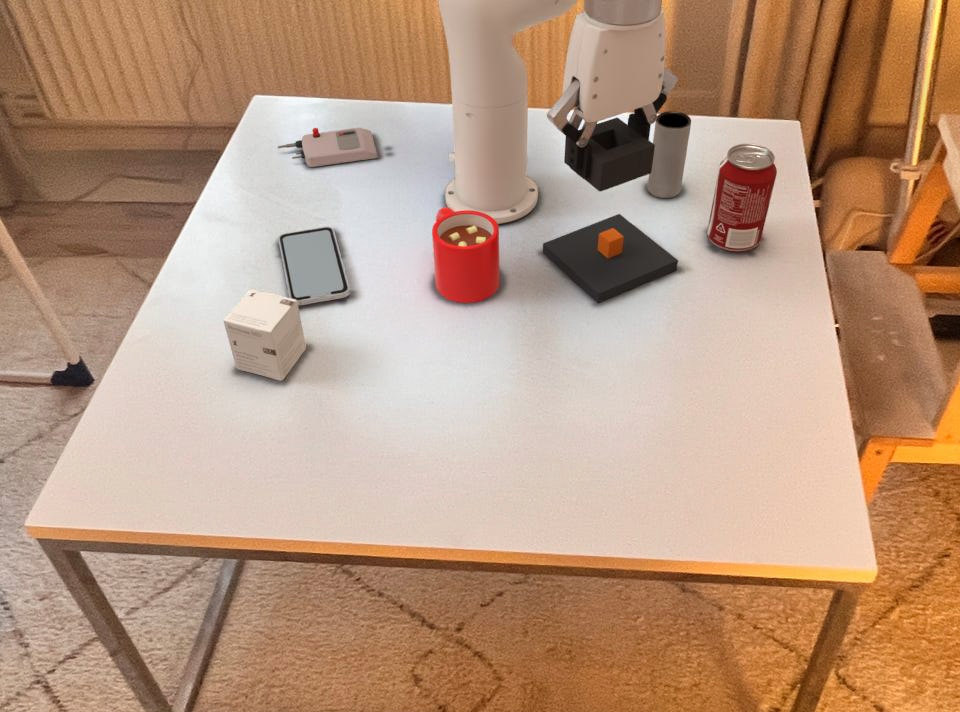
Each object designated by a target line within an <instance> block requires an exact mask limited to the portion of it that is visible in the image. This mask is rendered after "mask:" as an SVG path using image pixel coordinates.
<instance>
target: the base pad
mask: <svg viewBox="0 0 960 712" xmlns="http://www.w3.org/2000/svg"><path fill="white" fill-rule="evenodd" d="M542 254H543V255H544V256H545V257H546V258H547V259H548V260H550V261H551V262H552V263H553V264H554V265H555V266H556V267H557V268H558V269H560V271H562V272H563V273H564V274H565V275H566V276H567V277H568V278H569V279H571V280H572V281H573V282H574V283H575V285H577V286H579V287H580V289H582V290H583V291H584V292H585V293H586V294H587V295H589V297H590V298H591V299H593V300H594V301H595V302H596V303H597V304H600V303H602V302H604V301H607V300H610V299H612V298H614V297H616V296H619V295H621V294H623V293H625V292H628V291H631V290H633V289H635V288H637V287H640V286H642V285H645V284H647V283H649V282H652V281H654V280H656V279H659V278H661V277H664V276H666V275H669V274H670V273H673V272H675V271H677V270H678V264H679V260H678V259H677V258H676V257H675V256H674V255H672V254H671V253H669V252H668V251H667V250H666V249H665V248H664V247H662V246H661V245H660V244H658V243H657V242H656V241H655V240H653V239H652V238H651V237H650V236H648V235H647V234H646V233H644V232H643V231H642V230H641V229H639V228H638V227H637V226H636V225H634V224H633V223H632V222H631V221H630V220H628V219H627V218H626V217H624V216H623V215H622V214H621V213H618V214H615V215H613V216H610V217H607V218H604V219H602V220H599V221H597V222H594V223H591V224H589V225H587V226H584V227H581V228H579V229H577V230H574V231H572V232H569V233H566V234H563V235H561V236H558V237H556V238H552V239H550V240H549V241H546V242H543V243H542Z"/></svg>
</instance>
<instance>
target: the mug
mask: <svg viewBox="0 0 960 712" xmlns="http://www.w3.org/2000/svg"><path fill="white" fill-rule="evenodd" d="M436 213H437V214H436V216H435V222H434V223H433V226H432V229H431V238H432V250H433V252H432V253H433V262H434V263H433V265H434V277H435V286H436V290H437V292H438V293H439V294H440V295H441V296H442V297H444V298H445V299H447V300H449V301H451V302H456V303H461V304H473V303H478V302H482V301H485V300H487V299H489V298H491V297H492V296H494V294H496V292H498V290H499V288H500V283H501V282H500V281H501V280H500V276H501V275H500V227H499V224H497V222H496V221H495V220H494V219H493V218H492V217H491V216H489V215H487V214H485V213H482V212H478V211H470V210H464V211H456V212H455V211H454V210H452V209H451V208H449V207H448V206H445V207H443V206H442V207H441V208H440V209H439V210H438V211H437V212H436Z"/></svg>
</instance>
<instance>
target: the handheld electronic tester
mask: <svg viewBox="0 0 960 712" xmlns="http://www.w3.org/2000/svg"><path fill="white" fill-rule="evenodd" d="M384 141H385V143H386V140H384ZM277 148H278V149H283V148H284V149H285V148H287V149H288V148H289V149H290V148H297V149H302V150H300V151H298V152H295V155H296V156H292V160H295V159H304V161H305V163H306V165H307V167H310V168H315V167H322V166H329V165H336V164H337V165H338V164H343V163H352V162H357V161H365V160H373V159H378V152H377V148H376V145H375V140H374V137H373V134H372V131H371V130H369V129H366V128H363V127H353V128H345V129H337V130H330V131H323V132H319V128H318V127H313V128H312V133H308V134H304V135H302V137H301V139H299V140H296V141H295V142H294V143H286V144H282V145H278V146H277Z"/></svg>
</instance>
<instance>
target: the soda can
mask: <svg viewBox="0 0 960 712" xmlns="http://www.w3.org/2000/svg"><path fill="white" fill-rule="evenodd" d="M775 159H776V157H775V154H774V152H773V151H772V150H771V149H769V148H767V147H766V146H763V145H761V144H756V143H740V144H736V145H733V146H732V147H730V148H729V149H728V151H727V154H726V157H724V158H723V159H722V161H721V162H720V163H719V167H718V173H717V176H716V177H717V178H716V183H715V187H714V192H713V193H714V194H713V199H712V203H711V208H710V209H711V210H710V215H709V220H708V225H707V230H706V236H707V238H708V240H709V241H710V242H711V244H712V245H714V246H716V247H717V248H720V249H722V250H725V251H729V252H745V251H749V250H753V249H754V248H756V247H757V246H758V245H760V243H761V239H762V236H763V232H764V228H765V225H766V219H767V217H768V212H769V208H770V203H771V199H772V195H773V190H774V187H775V183H776V179H777V174H778V173H777V172H778V170H777V167H776V164H775Z"/></svg>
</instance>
